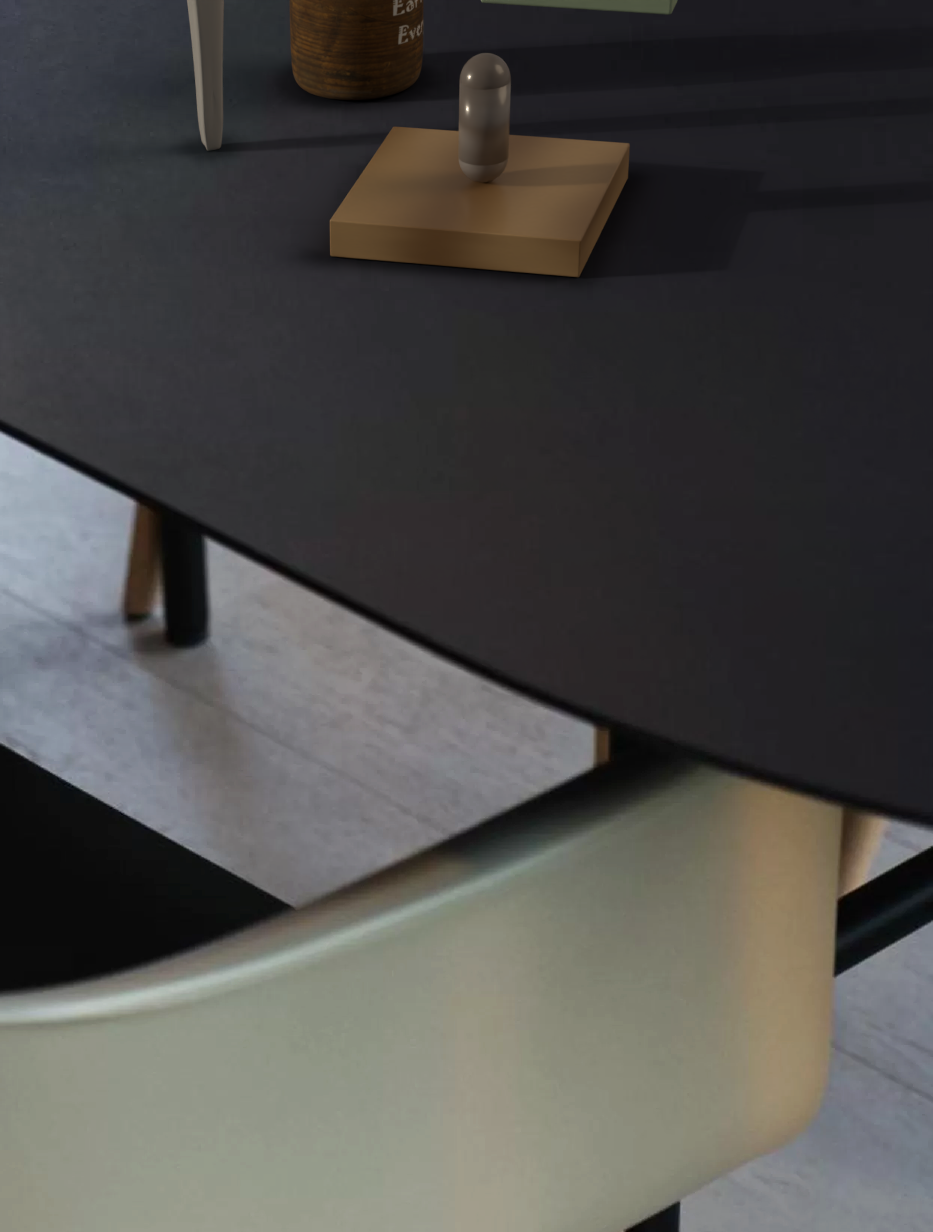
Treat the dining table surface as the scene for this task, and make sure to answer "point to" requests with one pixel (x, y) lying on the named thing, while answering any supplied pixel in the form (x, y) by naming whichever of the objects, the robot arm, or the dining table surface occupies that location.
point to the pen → (208, 67)
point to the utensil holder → (356, 46)
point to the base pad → (482, 191)
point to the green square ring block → (599, 5)
